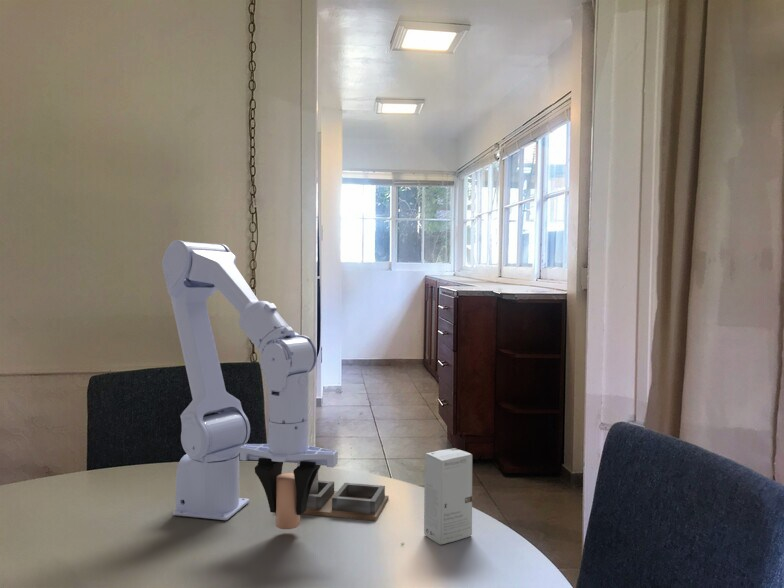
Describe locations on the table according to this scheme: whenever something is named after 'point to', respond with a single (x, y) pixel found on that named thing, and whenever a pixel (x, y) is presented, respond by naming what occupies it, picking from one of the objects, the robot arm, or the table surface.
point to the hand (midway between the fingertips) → (288, 511)
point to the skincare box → (448, 495)
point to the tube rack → (346, 500)
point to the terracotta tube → (286, 502)
